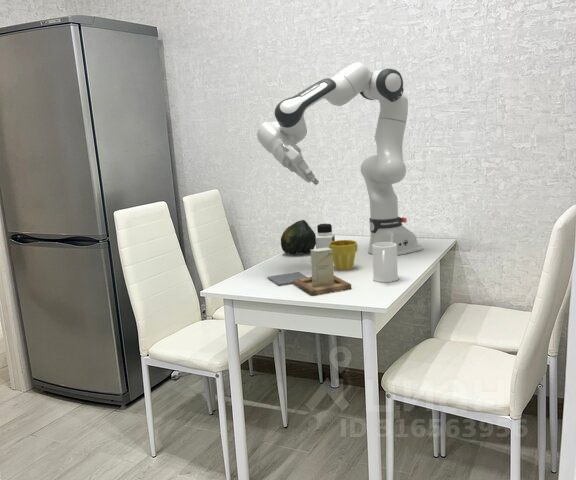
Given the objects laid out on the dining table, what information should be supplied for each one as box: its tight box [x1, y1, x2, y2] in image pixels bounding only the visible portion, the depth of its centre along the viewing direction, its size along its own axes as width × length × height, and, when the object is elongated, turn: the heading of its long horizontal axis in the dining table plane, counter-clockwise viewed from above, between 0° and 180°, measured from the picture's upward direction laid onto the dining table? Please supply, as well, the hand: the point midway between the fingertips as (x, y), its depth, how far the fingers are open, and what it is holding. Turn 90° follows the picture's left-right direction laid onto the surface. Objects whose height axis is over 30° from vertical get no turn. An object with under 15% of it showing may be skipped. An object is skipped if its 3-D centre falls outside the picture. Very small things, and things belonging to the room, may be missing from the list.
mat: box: [267, 271, 309, 287], centre depth 203 cm, size 12×12×1 cm
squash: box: [280, 219, 317, 256], centre depth 243 cm, size 14×15×15 cm
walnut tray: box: [292, 275, 352, 297], centre depth 191 cm, size 14×16×2 cm
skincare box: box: [310, 247, 335, 287], centre depth 189 cm, size 6×4×12 cm
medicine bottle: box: [315, 222, 336, 249], centre depth 242 cm, size 7×7×12 cm
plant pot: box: [329, 239, 358, 271], centre depth 212 cm, size 10×10×10 cm
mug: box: [372, 242, 399, 283], centre depth 192 cm, size 12×8×12 cm
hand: (313, 178), depth 203 cm, fingers open, 8 cm apart
